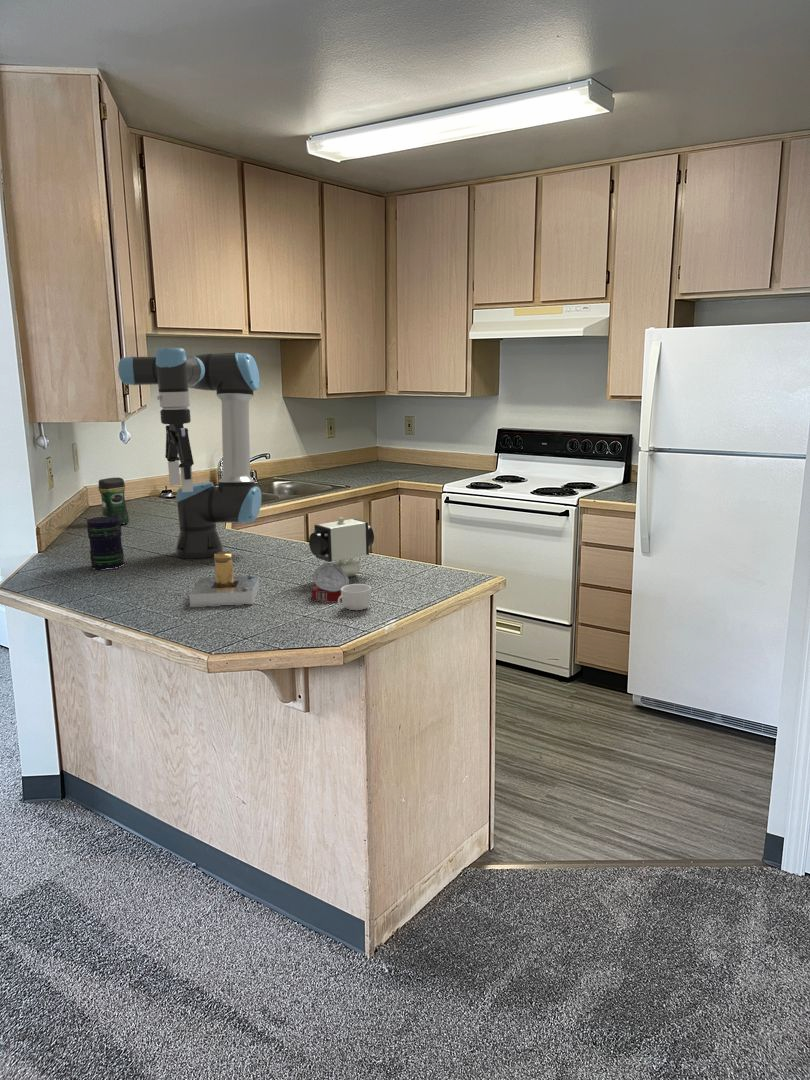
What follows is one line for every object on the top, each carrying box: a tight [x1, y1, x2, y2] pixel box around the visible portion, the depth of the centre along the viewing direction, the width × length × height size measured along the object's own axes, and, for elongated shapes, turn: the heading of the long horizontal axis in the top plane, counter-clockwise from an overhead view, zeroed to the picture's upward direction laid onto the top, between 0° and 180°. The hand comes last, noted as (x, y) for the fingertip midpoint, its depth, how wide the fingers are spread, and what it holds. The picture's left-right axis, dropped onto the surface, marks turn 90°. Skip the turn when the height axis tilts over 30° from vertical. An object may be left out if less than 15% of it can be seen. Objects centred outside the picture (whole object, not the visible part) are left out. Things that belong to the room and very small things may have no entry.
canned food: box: [311, 562, 350, 602], centre depth 213 cm, size 11×10×10 cm
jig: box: [188, 574, 260, 608], centre depth 214 cm, size 16×16×4 cm
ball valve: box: [308, 517, 375, 578], centre depth 230 cm, size 18×8×18 cm, turn 127°
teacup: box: [337, 583, 372, 611], centre depth 202 cm, size 10×8×5 cm
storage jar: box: [86, 516, 125, 569], centre depth 248 cm, size 10×10×15 cm
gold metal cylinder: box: [213, 551, 235, 588], centre depth 213 cm, size 5×5×12 cm
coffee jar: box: [98, 477, 130, 524], centre depth 312 cm, size 10×8×19 cm
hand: (181, 488), depth 215 cm, fingers open, 13 cm apart
